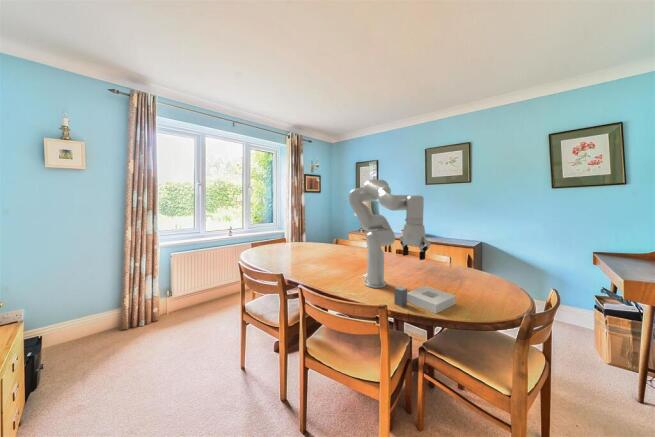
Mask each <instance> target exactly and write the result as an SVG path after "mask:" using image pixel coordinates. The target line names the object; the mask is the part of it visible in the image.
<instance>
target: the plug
mask: <svg viewBox="0 0 655 437" xmlns="http://www.w3.org/2000/svg"><path fill="white" fill-rule="evenodd" d="M407 292H408V288H406V287H405V286H401V285H398V286H396V287H394V305H396V306H398V307H400V308H402V307H406V306H407V304H408V302H407Z"/></svg>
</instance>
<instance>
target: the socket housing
mask: <svg viewBox="0 0 655 437" xmlns="http://www.w3.org/2000/svg"><path fill="white" fill-rule="evenodd" d="M407 303H409V304H412V305H415V306H416V307H419V308H422V309H423V310H426V311H429V312H431V313H433V314H439V313H440V312H443V311H444V310H447V309H448V308H450V307H452V306H454V305H456V295H454V294H451V293H447V292H444V291H442V290H439V289H436V288H433V287H431V286H430V287H429V286H427V285H425V286H422V287H419V288H418V287H417V289H416V288H415V289H413V290H411V291H407Z"/></svg>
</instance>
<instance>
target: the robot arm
mask: <svg viewBox="0 0 655 437" xmlns="http://www.w3.org/2000/svg"><path fill="white" fill-rule="evenodd" d="M391 192H392V189H391V187H390V186H389V183H388V182H387V181H386V180H383V179H368V180H367V181H365V182H364V184H363V188H362V187H359V188H358V187H356V188H353V189H351V190H350V192H349V194H348V203H349V205H350V207H351V209H352V210H353V212H354V213H355V215H356V217H357V220H358V222H359V224H360V225H361V228H362V229H363V230H364V231H366V232H368V233H366V236H365V244H366V250H367V253H366V254H367V266H366V267H367V272H366V273H365V274H363V278H365V281H364V285H365V286H367V287H368V288H372V289H373V288H374V289H381V288H385V287H386V286H387V281H386V280H385V253H384V251H383V249H382V247H387V246H388V247H389V246H392V245H393V244H394V243H395V241H396V236H395V232H394V231H393V228H392V227H391V225H390V223H389V221H388V220H387V218H386V217H385V216H384V215H382V214H373V213H372V212H371V210H370V208H369V206H367V205H366V204H365V203H367V202H368V203H369V202H370V203H371V202H375V201H377V200H378V202H379V204H380V206H382V207H384V208H385V209H387V210H390V211H396V212H397V211H406V217H405V219H404V221H405V224H404V226H403V231H402V236H400V237H399V242H400V245H401V247H402V256H403V257H405V256H408V255H409V246H410V247H415V248H418V249H419V255H418V256H419V261H424V260H426V252H427V250H428V249H429V248H430V247H431V245H432V243H431V242H430V241H429V240H428V239H427V238H426V230H425V225H424V206H425V205H424V204H425V203H424V202H425V198H424V196H423V195H421V194H420V195H418V194H417V195H414V194H413V195H410V194H393V193H392V194H391Z"/></svg>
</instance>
